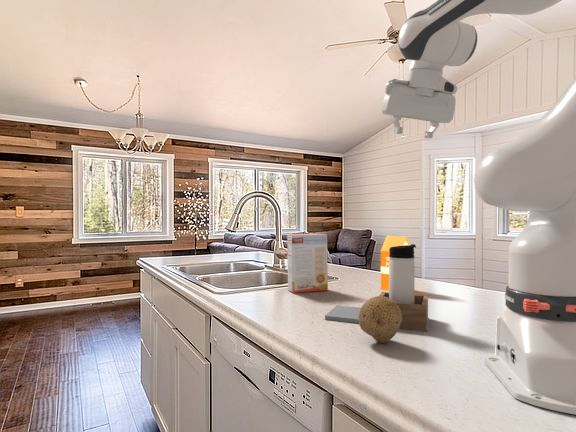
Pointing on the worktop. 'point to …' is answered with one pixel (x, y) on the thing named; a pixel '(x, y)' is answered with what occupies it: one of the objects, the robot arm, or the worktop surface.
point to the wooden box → (413, 313)
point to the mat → (344, 314)
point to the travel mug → (401, 273)
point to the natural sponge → (380, 318)
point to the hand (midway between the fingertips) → (413, 136)
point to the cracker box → (307, 262)
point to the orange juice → (389, 242)
